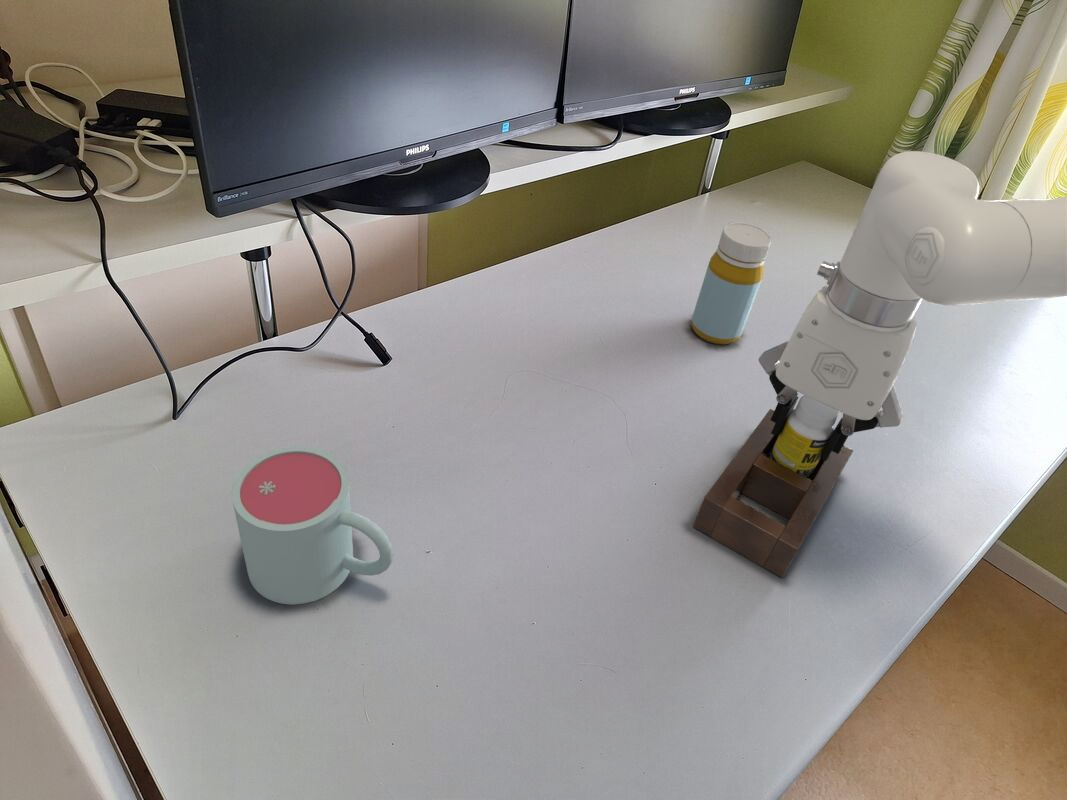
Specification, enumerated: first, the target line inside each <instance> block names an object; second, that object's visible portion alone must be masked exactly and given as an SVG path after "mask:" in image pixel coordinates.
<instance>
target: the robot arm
mask: <svg viewBox="0 0 1067 800" xmlns="http://www.w3.org/2000/svg"><path fill="white" fill-rule="evenodd" d="M979 191H980V185H979V180H978V178H977V175H976V174H975V173H974V172H973V171H972V170H971V169H970V168H969V167H968V166H965V164H963V163H960V162H959V161H958V160H957V161H956V160H955V159H952V158H950V157H948V156H945V155H942V154H937V153H934V152H929V151H919V150H908V151H907V150H905V151H902V152H899V153H895V155H893V156H890V158H888V160H886V162H885V163H884V164H883V165H882V167H881V169H880V170H879V173H878V175H877V177H876V180H875V182H874V184H873V186H872V188H871V191H870V194H869V195H868V198H867V200H866V202H865V204H864V207H863V209H862V211H861V214H860V216H859V218H858V221H857V223H856V225H855V228H854V230H853V232H852V234H851V237H850V239H849V241H848V243H847V246H846V248H845V250H844V252H843V255H842V256H841V259H840V261H837V262H836V263H834V262H831V263H829V262H828V261H825V260H823V261H822V263H821V264H820V266H819V268H818V271H817V273H816V275H817V276H819V277H822V278H823V280H826V285H824V286H823V287H822V288H821V289H819V290H818V291H816V293H815V295H814V296H813V297H812V299H811V300H810V301H809V304H807V306H806V308H805V309H804V311H803V313H802V314H801V316H800V318H799V320H798V322H797V324H796V325H795V327H794V330H793V332H792V334H791V336H790V338H789V339H788V340H787V341H785V342H783V343H780V344H778V345H776V346H774V347H771V348H769V349H767V350H764V351H763V353H761V355H760V356H759V357H758V363H759V364H760V366H761V368H762V370H764V372H765V374H767V375H768V377H769V378H768V379H769V381H770V384H771V385H772V388H773V390H774V392H775V394H776V402H777V404H776V406H775V408H774V413H773V415H772V417H771V420H770V421H772V422H774V423H775V425H774V428H773V430H772V432H771V434H773V435H775V436H776V435H779V433H780V432H781V430H782V428H783V426H784V424H785V422H786V419H787V417H788V415H789V413H790V412H791V411H792V410H794V409H795V406H796V405H797V403H798V401H799V397H800V396H799V393H800V394H802V395H803V396H804V395H806V396H808V397H810V398H812V399H814V400H816V401H818V402H820V403H823V404H825V405H827V406H829V407H831V408H833V409H835V410H837V411H839V413H842V417H841V418H840V420H839V421H838V423H837V424H836V426H835V427H834V431H833V433H832V435H831V437H830V439H829V441H828V443H827V445H826V446H825V448H824V450H823V452H822V454H821V456H820V457H821V458H822V460H824V461H827V459H828V457H829V456H830V454H831V452H832V451H833V452H835V453H837V454H839V452H840V451H841V449H842V447H843V445H844V446H845V443H846V442H847V440H848V438H849V437H851V436H852V435H853V434H854V433H859V432H864V431H869V430H873V429H876V428H893V427H898V426H900V424H901V422H902V421H903V418H904V413H903V410H902V407H901V404H900V400H899V397H898V394H897V391H896V386H895V382H896V381H897V378H898V377H899V376H900V372H901V371H902V369H903V366H904V364H905V362H906V359H907V357H908V355H909V352H910V350H911V346H912V343H913V340H914V336H915V333H916V330H917V329H916V328H917V319H916V318H915V314H916V312H917V310H918V308H919V307H920V304H921V303H922V301H923V300H924V301H926V302H927V303H930V304H934V305H937V306H945V307H946V306H950V307H951V306H965V305H966V306H967V305H979V304H980V305H981V304H991V303H997V302H998V303H999V302H1013V301H1014V302H1015V301H1028V300H1029V301H1030V300H1032V301H1033V300H1044V299H1045V300H1046V299H1053V298H1054V299H1055V298H1061V297H1067V195H1065V196H1061V197H1056V198H1049V199H1000V200H999V199H998V200H997V199H996V200H995V199H994V200H987V199H977V198H978V195H979ZM881 408H882V410H881Z"/></svg>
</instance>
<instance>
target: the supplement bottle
mask: <svg viewBox="0 0 1067 800" xmlns="http://www.w3.org/2000/svg"><path fill="white" fill-rule="evenodd" d="M795 406H796V407H795V408H794V409H793V410H792V411H791V412H790V413H789V415H788V417H787V419H786V422H785V424H784V426H783V428H782V430H781V432H780V435H779V437H778V439H777V441H776V443H775V445H774V447H773V449H772V452H771V454H770V455H769V459H771V460H773V461H775V462H777V463H779V464H781V465H783V466H785V467H787V468H789V469H790V470H792V471H794V472H796V473H798V474H800V475H802V476H804V477H806V478H809V477H811V476H810V475H811V474H812V472H813V471H814V469H815V467H816V465H817V463H818V461H819V459H820V456H821V454H822V452H823V450H824V448H825V446H826V445H827V443H828V441H829V439H830V437H831V435H832V433H833V431H834V429H835V426H834V425H835V424H836V422H837V419H838V417H839V414H840V411H837V410H835V409H833V408H831V407H829V406H827V405H825V404H823V403H820V402H818V401H816V400H814V399H812V398H810V397H808V396H806V395H804V394H803V395H802V396H801V397H800V399H798V401H797V403H796V405H795Z"/></svg>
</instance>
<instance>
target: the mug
mask: <svg viewBox="0 0 1067 800" xmlns="http://www.w3.org/2000/svg"><path fill="white" fill-rule="evenodd" d="M349 480H350V479H349V474H348V472H347V469H346V467H345V465H344V464H343V463H342V462H341V461H340V460H339V459H338V457H335V456H334V455H332V454H331V453H329V452H328V451H325V450H322V449H319V448H316V447H311V446H302V445H296V446H295V445H294V446H293V445H292V446H285V447H280V448H275V449H273V450H269V451H267V452H264V453H262V454H260V455H259V456H257V457H255V458H254V459H252V460H251V461H249V462H248V463H247V464H246V465H245V466H243V468H242V469H241V470H240V471H239V473H238V474H237V476H236V477H235V479H234V481H233V484H232V487H231V500H232V506H233V510H234V514H235V519H236V524H237V530H238V533H239V539H240V542H241V549H242V552H243V557H244V562H245V566H246V571H247V576H248V579H249V582H250V584H251V585H252V587H253V589H254V590H255V591H256V592H257V593H258V594H259V595H261V596H262V597H264V598H265V599H266V600H269V601H271V602H274V603H278V604H283V605H303V604H308V603H309V604H310V603H312V602H316V601H319V600H321V599H323V598H325V597H327V596H329V595H330V594H332V593H333V592H335V591H336V590H337V589H338V588H339V587H340V586H341V585H342V584H343V583H344V582H345V580H346V579H347V578H348V576H349V574H350V572H351V573H353V574H358V575H361V576H376V575H381V574H382V573H384V572H386V571H388V569H389V568H390V566H391V565H392V563H393V559H394V550H393V545H392V542H391V541H390V539H389V537H388V536H387V535H386V533H385V532H384V530H383V529H382V528H381V527H379V526H378V525H377V524H376V523H375V522H374V521H372V520H370V519H369V518H368V517H366V516H364V515H361V514H359V513H358V512H353V511H351V495H350V481H349ZM353 528H354V529H355V530H358V531H359V532H361V533H362V534H364V535H365V536H366V537H367V538H369V539H370V540H371V541H372V542H373V543H374V545H375V547H376V548H377V549H378V553H379V558H378V559H377V560H374V561H366V560H362V559H359V558H356V557H354V547H353Z"/></svg>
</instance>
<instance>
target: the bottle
mask: <svg viewBox="0 0 1067 800" xmlns="http://www.w3.org/2000/svg"><path fill="white" fill-rule="evenodd" d="M772 243H773V237H772V235H771V234H770V233H769V232H768V231H767V230H766V229H764V228H763V227H760V226H758V225H755V224H752V223H749V222H742V221H735V222H730V223H727V224H726V225H725V226H724V227H723V228H722V231H721V235H720V238H719V241H718V245H717V248H716V250H715V252H714V253H713V255H712V256H711V257H710V259H709V261H708V265H707V267H706V271H705V274H704V278H703V281H702V283H701V287H700V291H699V294H698V296H697V301H696V303H695V307H694V310H693V313H692V317H691V320H690V324H691V328H692V329H693V331H694V332H695V334H696V335H697V336H698V337H699V338H701V339H702V340H703V341H706V342H709V343H711V344H715V345H728V344H731V343H733V342H736V341H738V340H739V339H740V338H741V337H742V334H743V332H744V330H745V326H746V324H747V321H748V318H749V316H750V313H751V310H752V308H753V305H754V303H755V300H756V297H757V294H758V291H759V289H760V286H761V284H762V280H763V279H764V278H763V277H764V274H765V265H764V264H765V261H766V259H767V256H768V254H769V252H770V248H771V246H772Z"/></svg>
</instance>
